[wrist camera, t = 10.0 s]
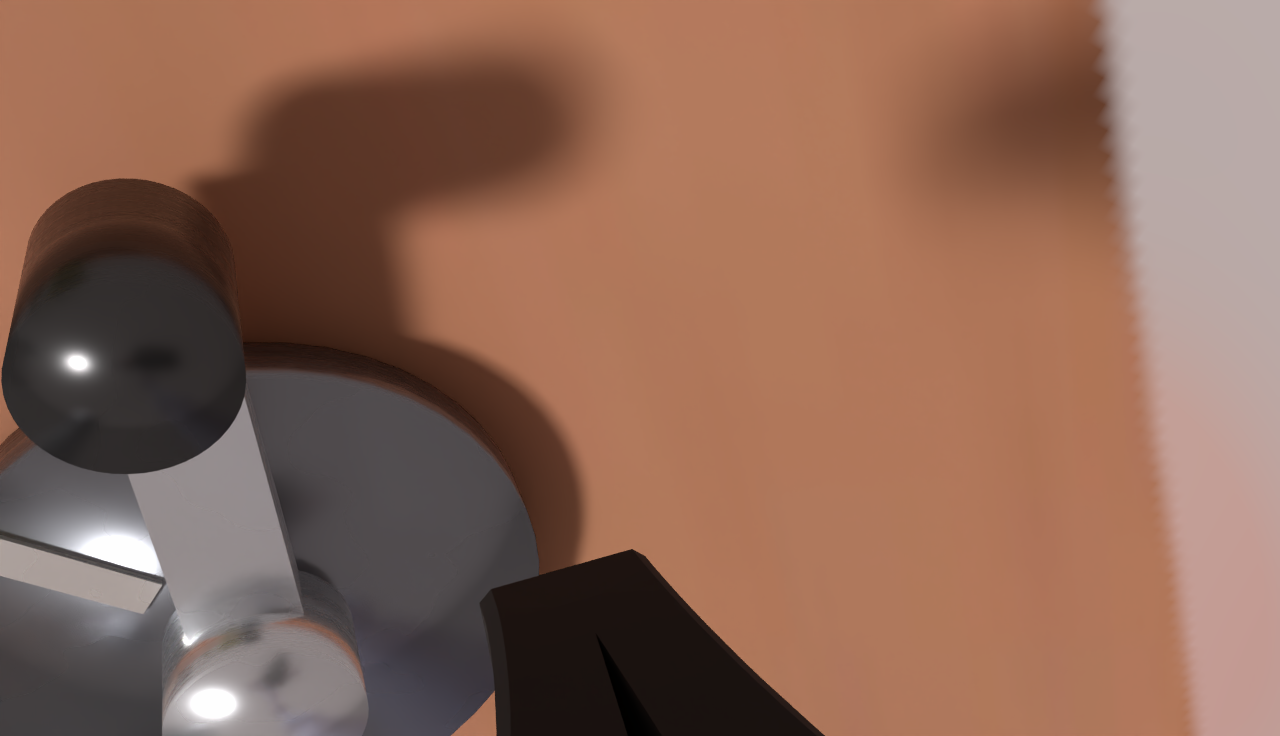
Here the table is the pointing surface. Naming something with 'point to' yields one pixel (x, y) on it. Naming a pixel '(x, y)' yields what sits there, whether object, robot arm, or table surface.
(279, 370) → the crank base
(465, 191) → the table surface
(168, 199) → the crank
